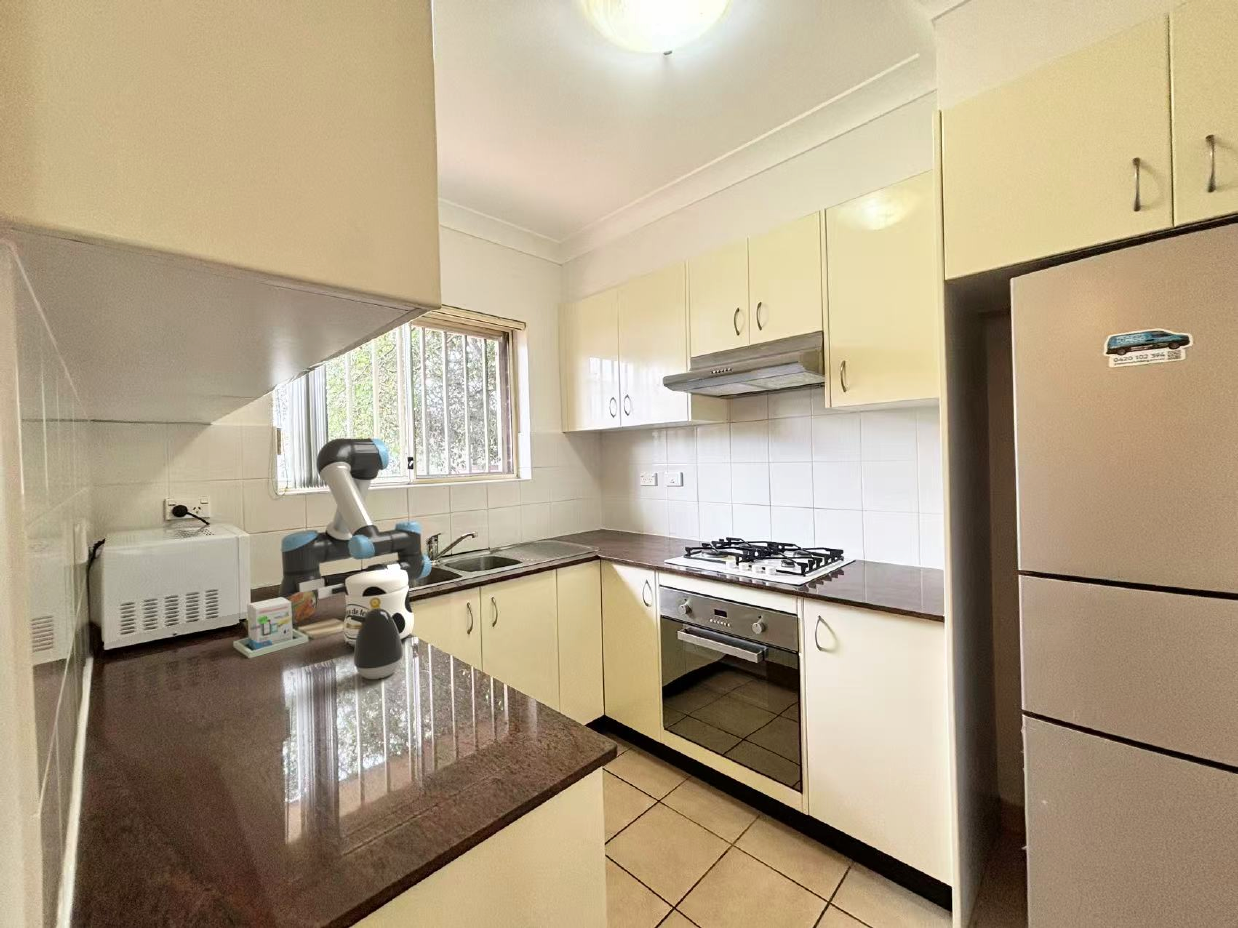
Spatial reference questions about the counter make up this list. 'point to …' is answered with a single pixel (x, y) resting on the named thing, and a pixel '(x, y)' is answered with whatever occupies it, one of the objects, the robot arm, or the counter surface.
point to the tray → (250, 654)
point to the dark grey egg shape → (377, 645)
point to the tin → (302, 605)
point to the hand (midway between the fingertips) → (308, 590)
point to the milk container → (378, 600)
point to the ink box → (269, 622)
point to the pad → (322, 628)
